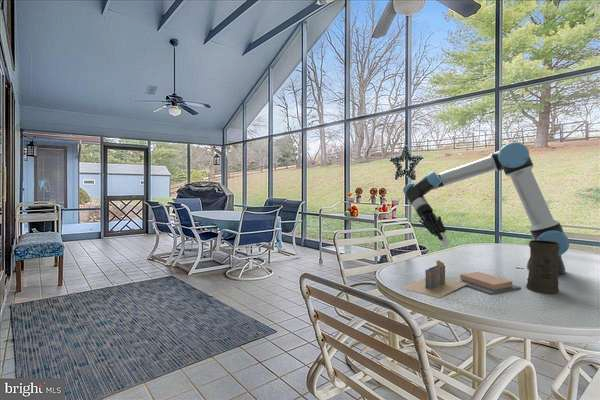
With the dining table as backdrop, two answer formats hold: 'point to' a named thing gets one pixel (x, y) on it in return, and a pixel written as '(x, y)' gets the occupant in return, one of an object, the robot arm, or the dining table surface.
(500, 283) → the tile
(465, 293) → the dining table surface
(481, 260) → the dining table surface
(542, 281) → the beer stein
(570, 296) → the dining table surface
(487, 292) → the mat
